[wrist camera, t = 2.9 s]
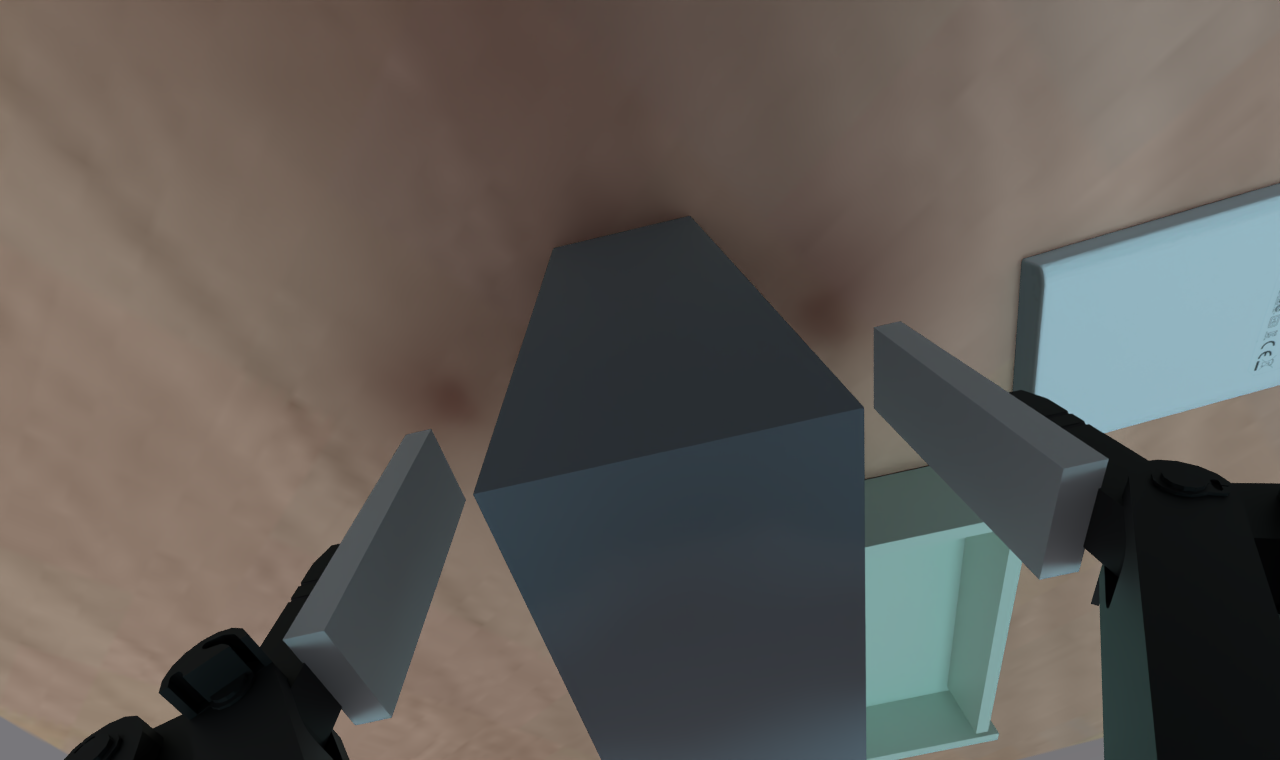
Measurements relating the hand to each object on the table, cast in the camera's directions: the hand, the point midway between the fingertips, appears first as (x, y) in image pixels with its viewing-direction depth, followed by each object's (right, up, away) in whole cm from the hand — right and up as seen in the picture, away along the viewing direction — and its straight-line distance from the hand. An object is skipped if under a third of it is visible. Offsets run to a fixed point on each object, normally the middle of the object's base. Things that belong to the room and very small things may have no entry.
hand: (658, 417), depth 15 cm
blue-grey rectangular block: (0, +2, +3) cm, 4 cm away
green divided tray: (+8, -11, +11) cm, 17 cm away
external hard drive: (+20, +4, +5) cm, 21 cm away
